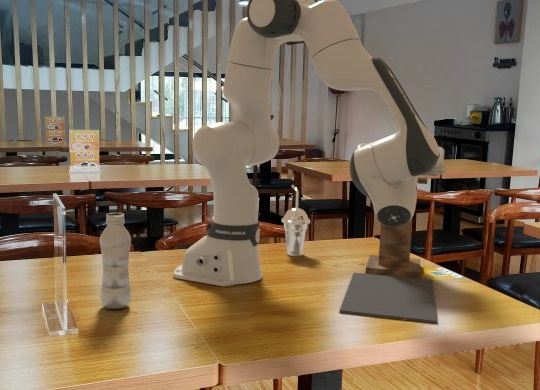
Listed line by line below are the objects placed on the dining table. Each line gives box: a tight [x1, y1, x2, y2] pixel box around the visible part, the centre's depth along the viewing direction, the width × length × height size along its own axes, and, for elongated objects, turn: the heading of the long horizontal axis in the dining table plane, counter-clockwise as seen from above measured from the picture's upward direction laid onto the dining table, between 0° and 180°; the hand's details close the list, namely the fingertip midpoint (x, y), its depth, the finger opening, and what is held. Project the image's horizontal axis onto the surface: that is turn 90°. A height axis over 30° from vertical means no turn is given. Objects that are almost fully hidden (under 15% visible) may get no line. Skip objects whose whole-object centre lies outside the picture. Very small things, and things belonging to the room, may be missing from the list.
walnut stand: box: [365, 175, 428, 279], centre depth 158 cm, size 14×14×26 cm
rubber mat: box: [338, 272, 437, 324], centre depth 138 cm, size 20×30×1 cm, turn 166°
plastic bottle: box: [99, 212, 133, 310], centre depth 123 cm, size 6×7×20 cm
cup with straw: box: [281, 184, 311, 257], centre depth 173 cm, size 8×9×20 cm
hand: (401, 139), depth 144 cm, fingers closed on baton, 3 cm apart
